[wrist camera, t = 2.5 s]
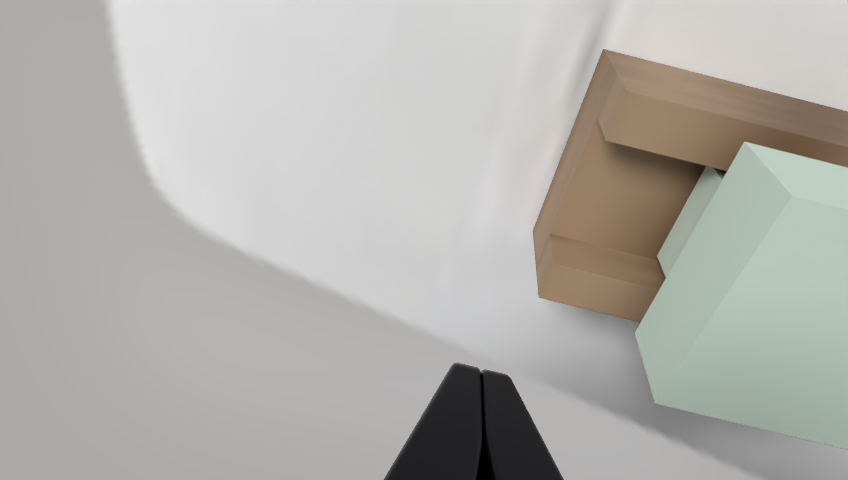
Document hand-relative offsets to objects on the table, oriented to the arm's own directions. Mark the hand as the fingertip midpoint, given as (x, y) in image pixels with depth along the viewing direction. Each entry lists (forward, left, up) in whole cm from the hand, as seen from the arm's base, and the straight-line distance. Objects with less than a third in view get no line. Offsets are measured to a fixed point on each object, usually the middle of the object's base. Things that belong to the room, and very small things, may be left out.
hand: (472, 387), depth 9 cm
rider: (-7, 0, -8) cm, 11 cm away
